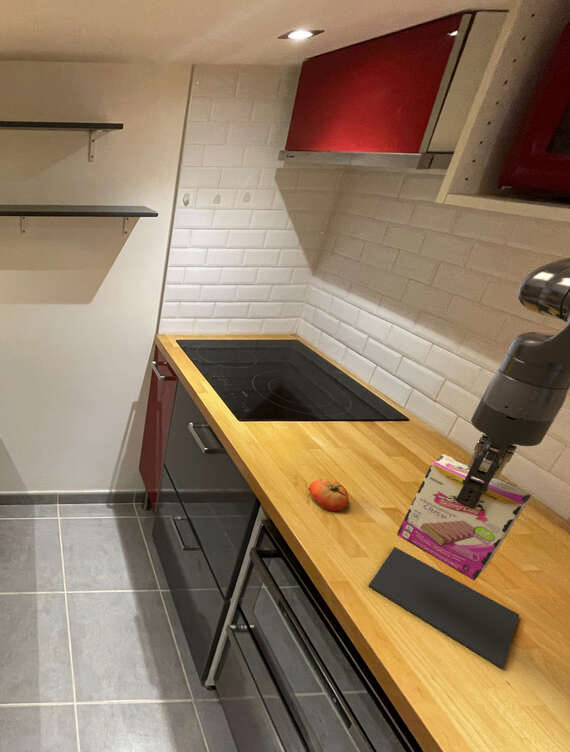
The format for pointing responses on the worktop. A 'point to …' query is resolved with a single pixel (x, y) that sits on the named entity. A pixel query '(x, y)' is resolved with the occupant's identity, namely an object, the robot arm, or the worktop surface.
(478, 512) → the candy bar box
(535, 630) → the worktop surface
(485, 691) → the worktop surface
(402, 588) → the mat
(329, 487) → the tomato
